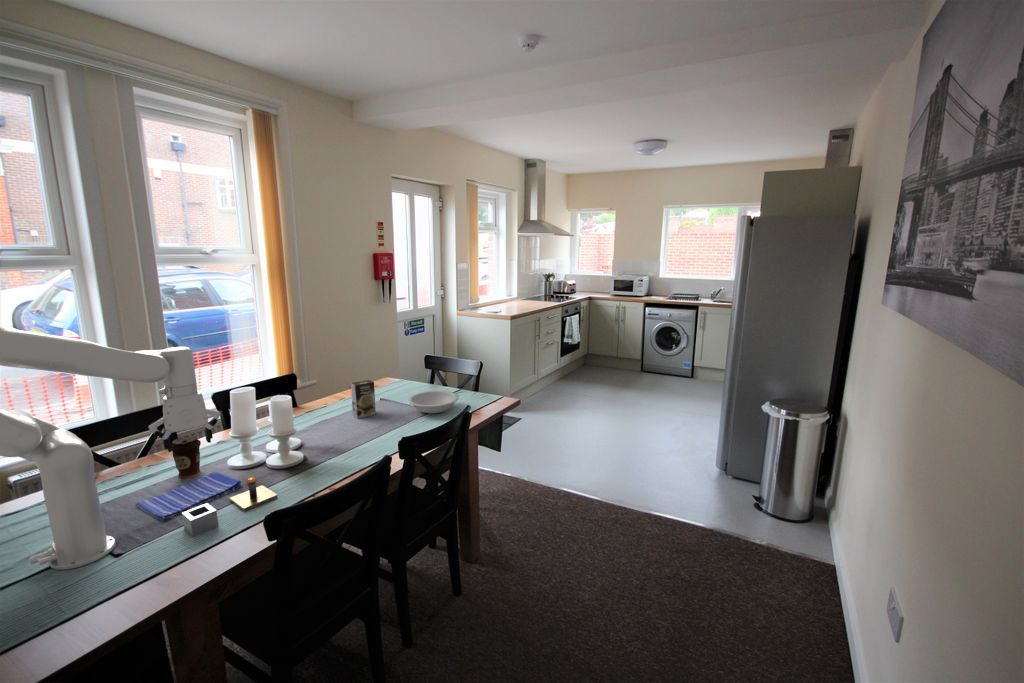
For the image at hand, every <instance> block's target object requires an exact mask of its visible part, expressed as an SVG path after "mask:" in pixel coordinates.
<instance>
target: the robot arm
mask: <svg viewBox="0 0 1024 683" xmlns="http://www.w3.org/2000/svg"><path fill="white" fill-rule="evenodd" d="M0 366H1V367H9V368H19V369H27V370H36V371H37V370H38V371H47V372H54V373H55V372H56V373H63V374H65V373H66V374H71V375H79V376H85V377H95V378H103V379H111V380H116V381H117V380H118V381H127V382H134V383H135V382H136V383H144V384H153V383H154V384H155V383H158V382H161V381H163V383H164V386H163V388H160V389H158V394H159V395H164V396H163V398H162V414H163V415H162V417H161V418H159V419H158V420H156V421H154V422H152V423H151V424H150V425H148V430H150V432H152V434H153V435H154V436H156V437H158V438H160V439H161V440H162V441H163V448H164V450H167V452H168V453H171V452H172V449H171V445H172V442H171V438H170V435H171V434H172V433H177V432H182V431H186V430H193V429H196V428H200V427H204V435H205V441H206V442H207V443H212V439H214V438H213V437H214V436H213V428H214V426H216V424H217V423H218V422H219V421H218V420H219V418H220V417H221V412H220V411H217V410H212V409H208V408H206V403H205V400H204V395H203V393H202V392H201V391H199V390H198V384H197V376H196V368H195V360H194V353H193V350H192V349H191V348H190V347H187V346H176V347H168V348H164V349H151V350H150V349H148V350H143V349H142V350H136V351H131V350H130V351H129V350H124V349H120V348H119V349H118V348H114V347H109V346H106V345H101V344H100V343H96V342H92V341H89V340H84V339H79V338H72V337H65V336H60V335H51V334H46V333H40V332H33V331H27V330H22V329H20V330H19V329H17V328H15V327H11V326H5V325H0ZM208 415H209V416H213V417H212V419H211V420H210V421H209V418H208V417H209V416H208ZM161 425H164V428H165V429H164V430H163V431H162V430H158V428H159V427H160V426H161ZM93 455H94V454H93V452H92V450H91V448H90V446H89V445H88V444H87V443H86V442H85V441H84V440H82V438H80V437H79V436H77V435H76V434H75V433H73V432H72V431H69V430H68V429H66V428H62V427H60V426H58V425H56V424H54V423H51V422H50V421H47V420H44V419H42V418H40V417H37V416H35V415H33V414H31V413H28V412H25V411H22V410H18V409H3V408H0V457H4V458H5V457H6V458H18V457H19V458H21V459H24V460H27V461H29V462H32V463H34V464H35V466H36V467H37V469H38V471H39V474H40V480H41V486H42V493H43V498H44V503H45V506H46V511H47V515H48V519H49V520H48V521H49V524H50V530H51V533H52V539H53V543H51V547H50V548H49V549H46V551H44V552H41V553H37V554H35V555H32V556H29V562H30V565H34V564H37V563H39V566H42V565H45V564H47V563H49V567H50V568H51V569H53V570H56V571H57V570H58V571H59V570H60V571H63V570H64V571H65V570H72V569H77V568H81V567H83V566H86V565H89V564H92V563H94V562H95V561H98V560H100V559H101V558H104V557H105V556H106V555H108V554H110V553H111V551H113V549H115V547H116V545H117V544H116V542H117V541H116V539H115V538H114V536H111V535H106V534H107V533H106V532H107V531H106V527H105V522H104V518H103V513H102V512H103V511H102V508H101V502H100V496H99V492H98V488H97V487H98V486H97V480H96V476H95V461H94V456H93Z"/></svg>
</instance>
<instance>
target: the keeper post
mask: <svg viewBox="0 0 1024 683" xmlns="http://www.w3.org/2000/svg"><path fill="white" fill-rule="evenodd" d="M246 483H247V486H248V490H247V491H243V492H242V493H238V494H236V495H234V496H230V497H229V502H230V503H232V504H233V505H235V506H236V507H237V508H239V509H240V510H241V511H243V512H247V511H249V510H252V509H254V508H256V507H258V506H260V505H264V504H265V503H267V502H268V503H269V502H271V501H273V500H275V499H278V494H277V493H276V492H274V491H272V490H270V489H269V488H267V487H266V486H264V485H262V484H261V485H259V486H257V484H256V483H257V477H256V476H249V477H248V478H246Z"/></svg>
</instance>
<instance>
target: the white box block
mask: <svg viewBox="0 0 1024 683" xmlns="http://www.w3.org/2000/svg"><path fill="white" fill-rule="evenodd" d="M181 517H182V523H183V525H182V526H183V529H184V531H186V532H187V533H188V534H189V535H190V536H191V537H192V538H194V537H197V536H199V535H202V534H204V533H206V532H209V531H211V530H214V529H216V528H219V519H218V513H217V509H216V508H214V507H213V506H212V505H210V504H209V502H207V503H204V504H202V505H200V506H197V507H195V508H193V509H190V510H187V511H185V512H182V513H181Z"/></svg>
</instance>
